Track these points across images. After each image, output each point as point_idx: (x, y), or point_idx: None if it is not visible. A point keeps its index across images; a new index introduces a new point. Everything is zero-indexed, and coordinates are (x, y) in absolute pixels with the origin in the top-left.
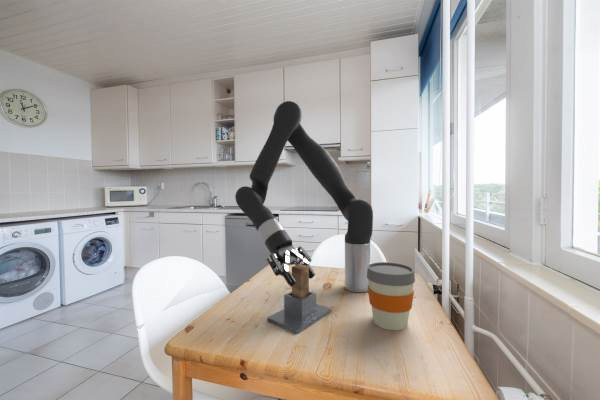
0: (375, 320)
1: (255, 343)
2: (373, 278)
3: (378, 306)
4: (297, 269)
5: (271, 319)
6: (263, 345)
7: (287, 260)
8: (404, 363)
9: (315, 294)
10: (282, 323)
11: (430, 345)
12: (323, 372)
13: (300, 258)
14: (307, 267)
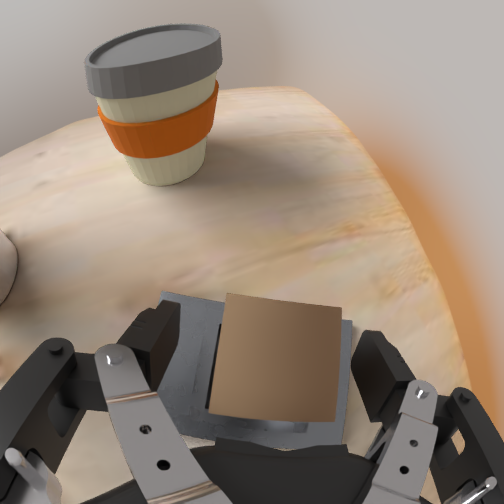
0: (190, 170)
1: (427, 379)
2: (207, 67)
3: (208, 127)
4: (336, 352)
5: (343, 428)
6: (423, 358)
7: (412, 439)
8: (301, 131)
9: (214, 310)
10: (346, 382)
11: (229, 110)
12: (402, 218)
13: (168, 417)
14: (248, 297)
